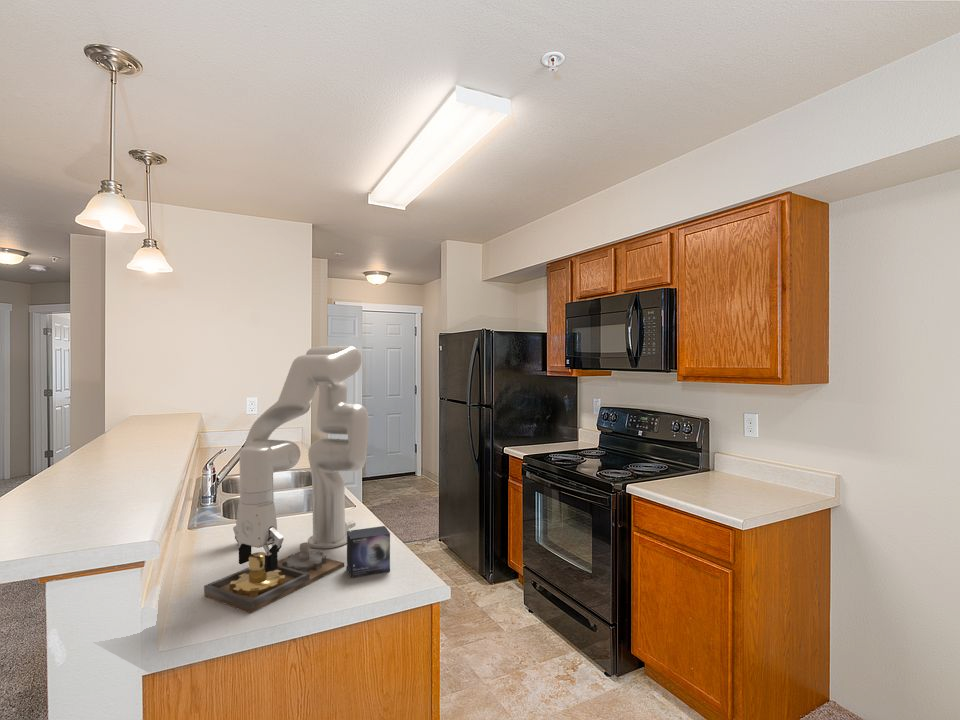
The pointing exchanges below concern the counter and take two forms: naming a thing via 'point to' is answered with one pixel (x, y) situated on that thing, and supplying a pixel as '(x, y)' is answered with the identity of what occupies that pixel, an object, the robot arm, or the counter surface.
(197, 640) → the counter surface
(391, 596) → the counter surface
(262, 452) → the robot arm
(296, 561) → the carrier plate
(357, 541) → the small box
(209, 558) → the counter surface
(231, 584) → the gear
